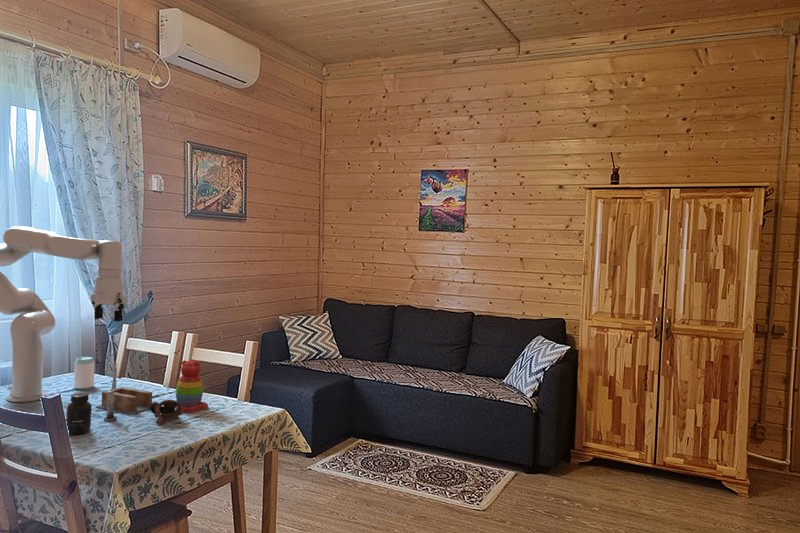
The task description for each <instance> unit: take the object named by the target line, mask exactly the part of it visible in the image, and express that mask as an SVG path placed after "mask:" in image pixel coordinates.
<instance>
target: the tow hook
mask: <svg viewBox="0 0 800 533" xmlns="http://www.w3.org/2000/svg"><path fill="white" fill-rule="evenodd" d="M117 364H118V362H116V361H114V366H113V367H114V368H113V372H112V382H111V388H110V389H109V390H112V389H116V388H117V374H118V373H117V372H118V368H117Z"/></svg>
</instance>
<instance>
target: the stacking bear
mask: <svg viewBox="0 0 800 533" xmlns="http://www.w3.org/2000/svg"><path fill="white" fill-rule="evenodd" d="M201 369H202V368H201V363H200V362H199V361H198V360H197V361H195V360H182V361H181V367H180V372H181V376H180V377H179V379H178V381H177V385H176V387H175V397H176V400H175V401H177V402H178V403H179V404H180V406H181V407H182V409H181V412H182V413H194V412H195V413H196V412H199V411H203V410H206V409H207V408H208V407H209V404H208V403H207V402H205V401H202V398H203V395H204V388H203V387H204V386H203V381H202V378H201V377H200V372H201ZM177 408H178V407H177V406H176V408H175V410H177Z"/></svg>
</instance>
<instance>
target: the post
mask: <svg viewBox="0 0 800 533" xmlns="http://www.w3.org/2000/svg"><path fill="white" fill-rule="evenodd" d="M106 391H107V410H106V416H105V417H104V418H103V421H104V422H114V421H116V420H117V416H115V411H114V397H115V391H108V390H106Z"/></svg>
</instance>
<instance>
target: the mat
mask: <svg viewBox="0 0 800 533" xmlns="http://www.w3.org/2000/svg"><path fill="white" fill-rule="evenodd" d="M95 408H96V409H100V410H105V411H107V407H105V406H102V404H99V405H95ZM148 410H150V406H149V407H145V406H139V405H137V411H133V412H130V411H125V410H120V409H115V408H114V413H121V414H125V415H126V414H127V415H130V414H131V415H132V414H133V415H136V414H139V413H142V412H145V411H148ZM133 415H132V416H133Z"/></svg>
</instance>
